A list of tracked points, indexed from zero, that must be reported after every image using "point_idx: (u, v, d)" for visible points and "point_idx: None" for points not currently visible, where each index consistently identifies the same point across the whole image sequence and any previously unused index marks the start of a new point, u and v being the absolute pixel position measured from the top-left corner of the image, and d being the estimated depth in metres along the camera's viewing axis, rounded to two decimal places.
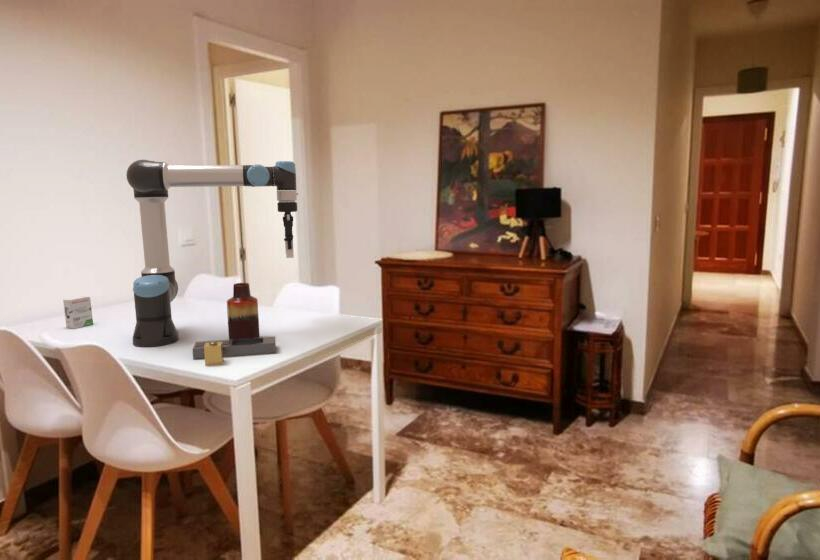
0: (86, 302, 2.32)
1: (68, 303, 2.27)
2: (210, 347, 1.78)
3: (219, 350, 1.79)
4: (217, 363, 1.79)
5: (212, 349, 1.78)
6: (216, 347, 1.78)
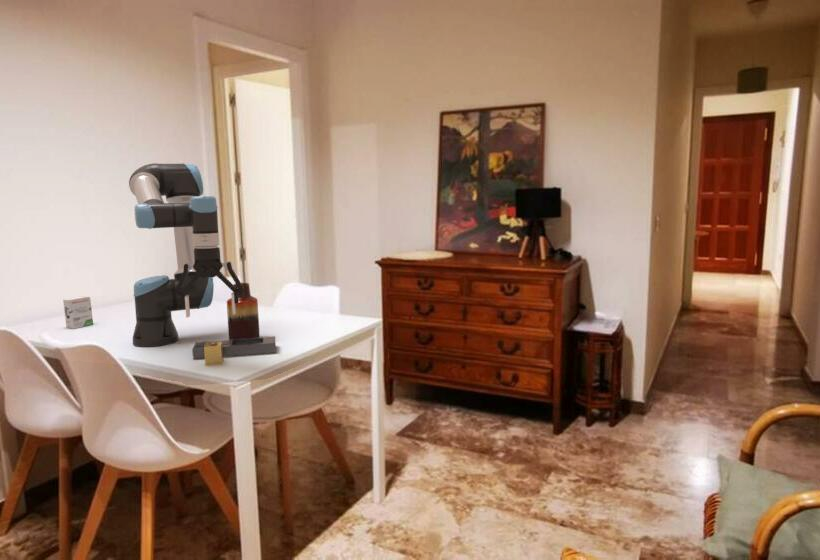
0: (86, 302, 2.32)
1: (68, 303, 2.27)
2: (210, 347, 1.78)
3: (219, 350, 1.79)
4: (217, 363, 1.79)
5: (212, 349, 1.78)
6: (216, 347, 1.78)
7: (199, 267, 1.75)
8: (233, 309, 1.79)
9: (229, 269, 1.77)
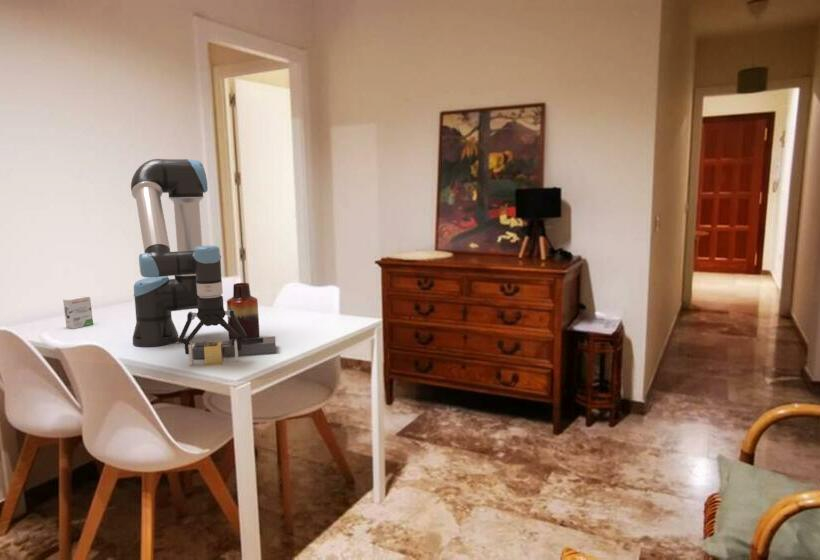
0: (86, 302, 2.32)
1: (68, 303, 2.27)
2: (210, 347, 1.78)
3: (219, 350, 1.79)
4: (217, 363, 1.79)
5: (212, 349, 1.78)
6: (216, 347, 1.78)
7: (202, 316, 1.77)
8: (236, 356, 1.81)
9: (232, 317, 1.79)
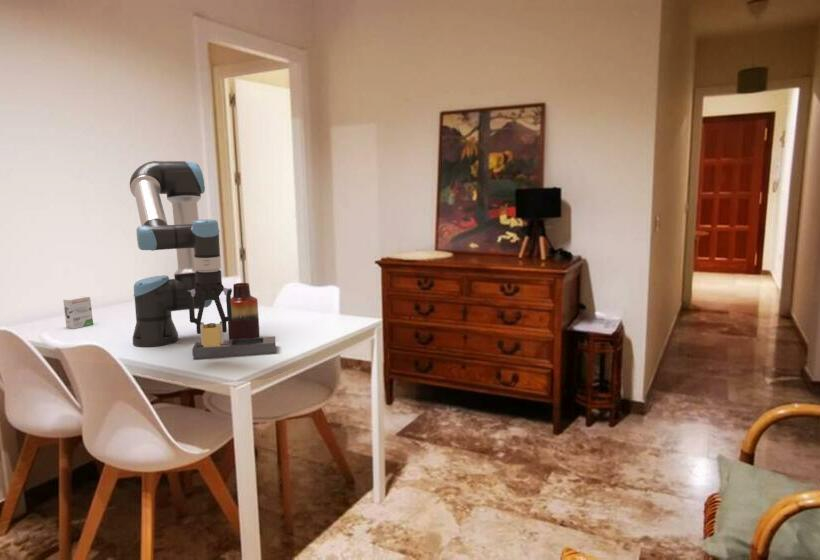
0: (86, 302, 2.32)
1: (68, 303, 2.27)
2: (208, 328, 1.77)
3: (217, 332, 1.78)
4: (215, 345, 1.79)
5: (210, 331, 1.78)
6: (214, 329, 1.78)
7: (201, 289, 1.76)
8: (221, 338, 1.80)
9: (227, 296, 1.78)
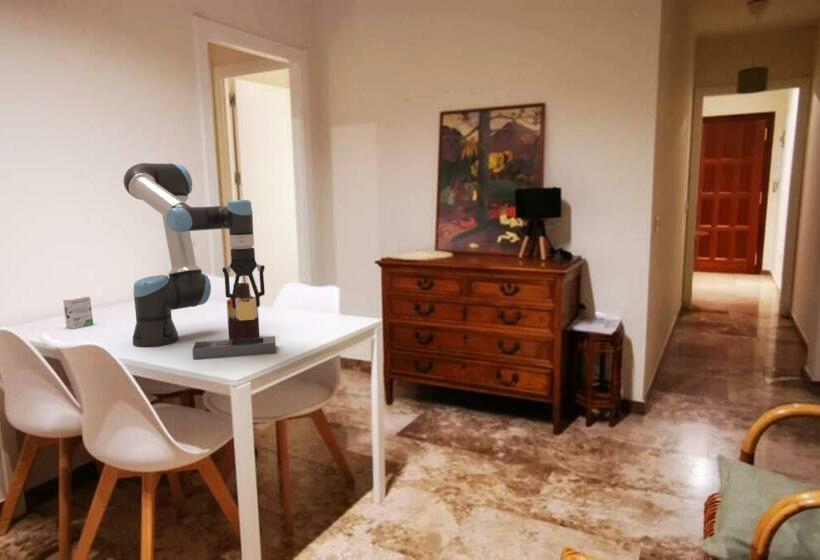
0: (86, 302, 2.32)
1: (68, 303, 2.27)
2: (243, 302, 1.88)
3: (252, 305, 1.88)
4: (250, 318, 1.89)
5: (245, 304, 1.88)
6: (249, 303, 1.88)
7: (236, 265, 1.87)
8: (255, 312, 1.90)
9: (261, 272, 1.89)
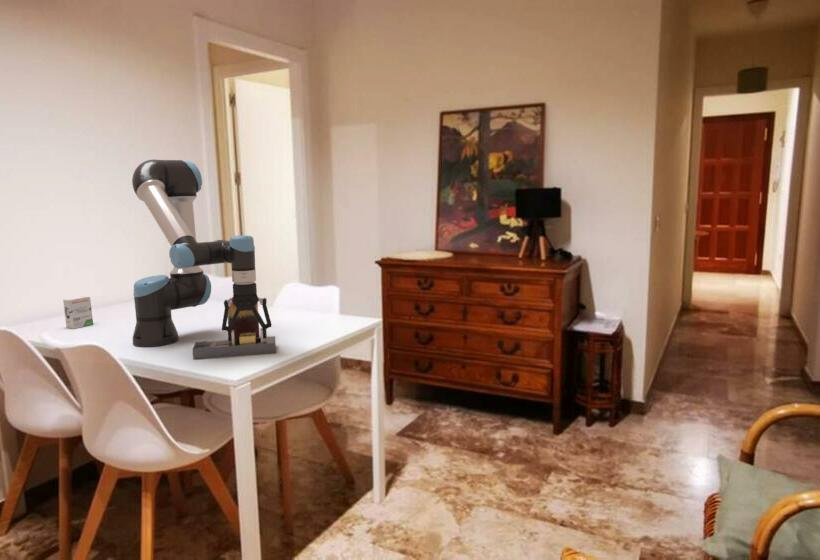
0: (86, 302, 2.32)
1: (68, 303, 2.27)
2: (245, 337, 1.89)
3: (253, 340, 1.90)
4: None
5: (247, 339, 1.90)
6: (250, 338, 1.90)
7: (237, 301, 1.89)
8: None
9: (264, 305, 1.91)
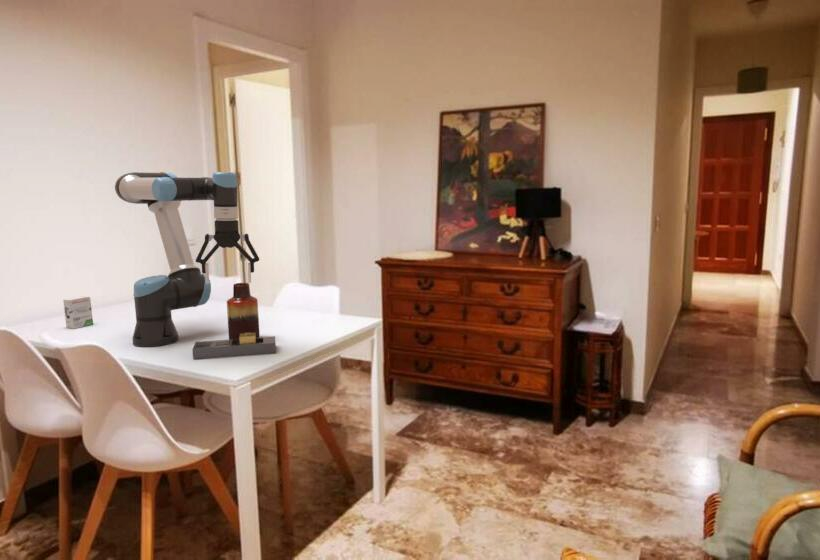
0: (86, 302, 2.32)
1: (68, 303, 2.27)
2: (245, 337, 1.89)
3: (253, 340, 1.90)
4: None
5: (247, 339, 1.90)
6: (250, 337, 1.90)
7: (219, 238, 1.89)
8: (249, 278, 1.94)
9: (246, 240, 1.92)
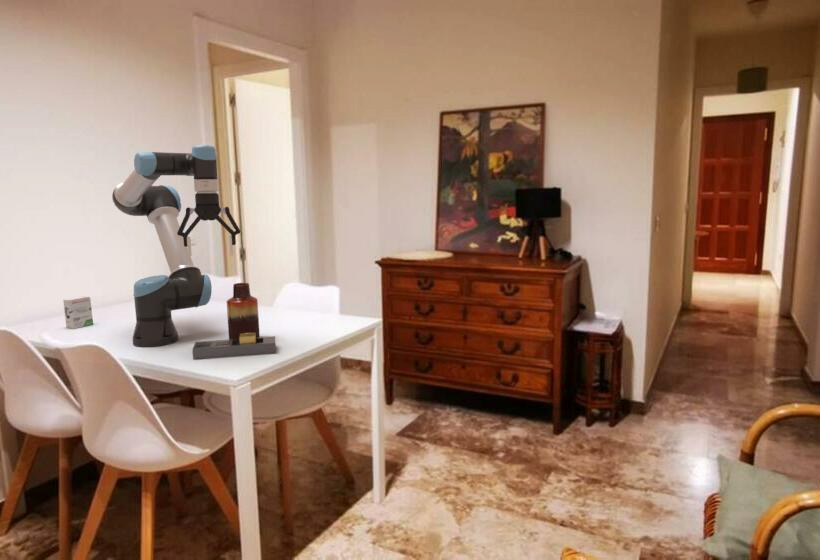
0: (86, 302, 2.32)
1: (68, 303, 2.27)
2: (245, 337, 1.89)
3: (253, 340, 1.90)
4: None
5: (247, 339, 1.90)
6: (251, 338, 1.90)
7: (200, 211, 1.92)
8: (231, 250, 1.96)
9: (227, 213, 1.94)
